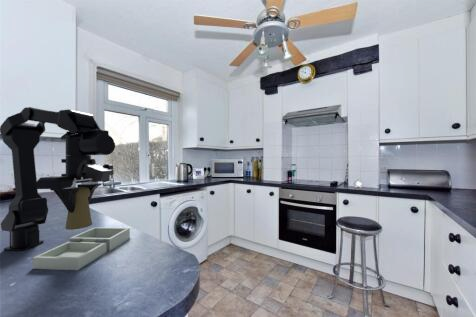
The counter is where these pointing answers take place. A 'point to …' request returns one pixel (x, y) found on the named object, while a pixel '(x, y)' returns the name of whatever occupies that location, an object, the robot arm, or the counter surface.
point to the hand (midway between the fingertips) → (78, 210)
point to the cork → (80, 211)
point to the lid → (70, 256)
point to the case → (103, 236)
